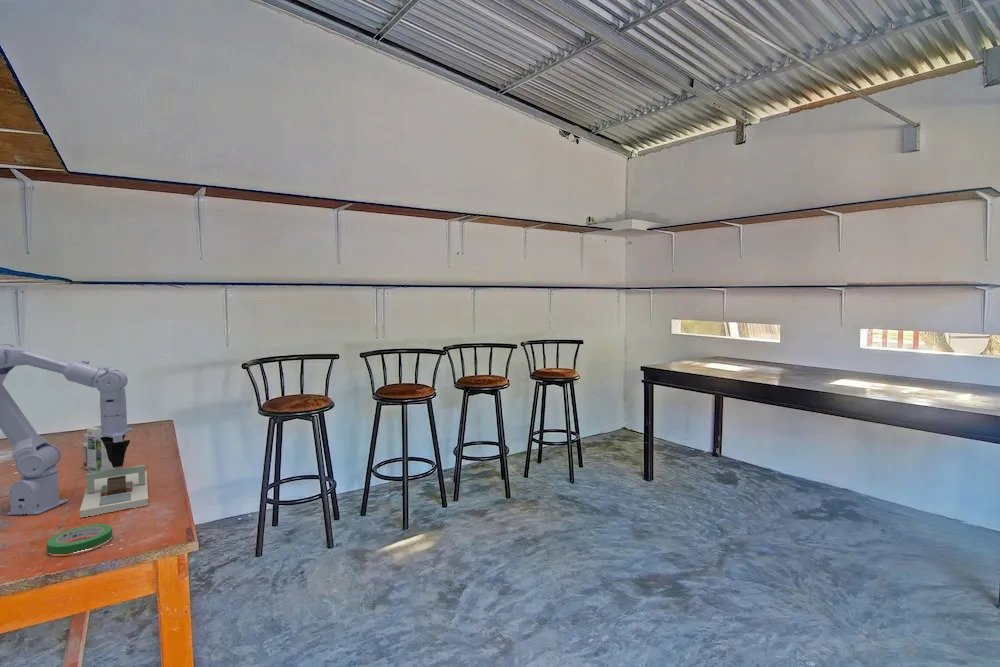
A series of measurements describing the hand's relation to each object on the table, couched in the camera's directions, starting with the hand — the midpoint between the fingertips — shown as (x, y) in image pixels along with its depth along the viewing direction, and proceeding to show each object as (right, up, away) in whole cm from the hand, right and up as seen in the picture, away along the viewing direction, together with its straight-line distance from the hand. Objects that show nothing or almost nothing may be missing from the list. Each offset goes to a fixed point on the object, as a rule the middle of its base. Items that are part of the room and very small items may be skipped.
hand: (115, 463), depth 141 cm
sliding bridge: (-1, -7, +2) cm, 8 cm away
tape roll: (+14, -11, -29) cm, 34 cm away
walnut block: (-1, -10, +2) cm, 10 cm away
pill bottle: (-29, -9, +30) cm, 43 cm away
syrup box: (-24, -9, +26) cm, 37 cm away
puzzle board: (-1, -10, +2) cm, 10 cm away
